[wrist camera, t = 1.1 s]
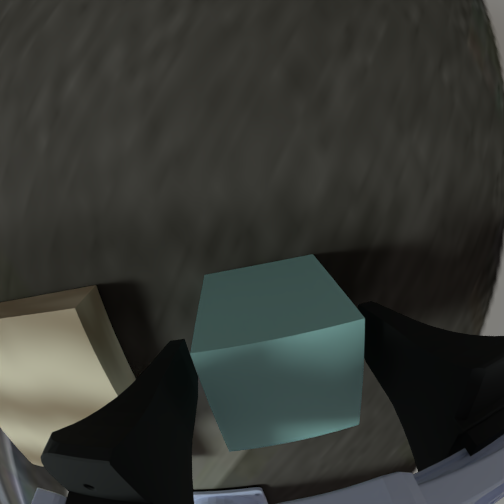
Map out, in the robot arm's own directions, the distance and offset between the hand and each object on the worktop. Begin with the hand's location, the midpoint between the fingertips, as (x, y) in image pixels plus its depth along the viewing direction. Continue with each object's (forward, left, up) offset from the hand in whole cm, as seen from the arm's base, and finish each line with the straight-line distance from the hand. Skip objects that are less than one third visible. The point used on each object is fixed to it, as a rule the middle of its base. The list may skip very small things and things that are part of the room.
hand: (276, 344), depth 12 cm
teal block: (0, 0, -3) cm, 3 cm away
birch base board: (-4, +15, -3) cm, 16 cm away
